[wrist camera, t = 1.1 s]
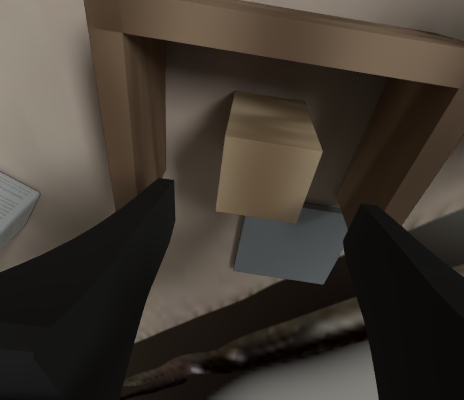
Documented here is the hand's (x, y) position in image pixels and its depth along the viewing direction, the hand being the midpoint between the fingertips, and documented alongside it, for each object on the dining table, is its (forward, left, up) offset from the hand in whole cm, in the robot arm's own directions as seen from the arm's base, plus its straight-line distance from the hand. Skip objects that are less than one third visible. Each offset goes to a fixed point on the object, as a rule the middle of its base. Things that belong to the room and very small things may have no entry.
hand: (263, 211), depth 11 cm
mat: (-4, +9, -8) cm, 13 cm away
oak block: (0, 0, -8) cm, 8 cm away
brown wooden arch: (0, -1, -8) cm, 8 cm away
